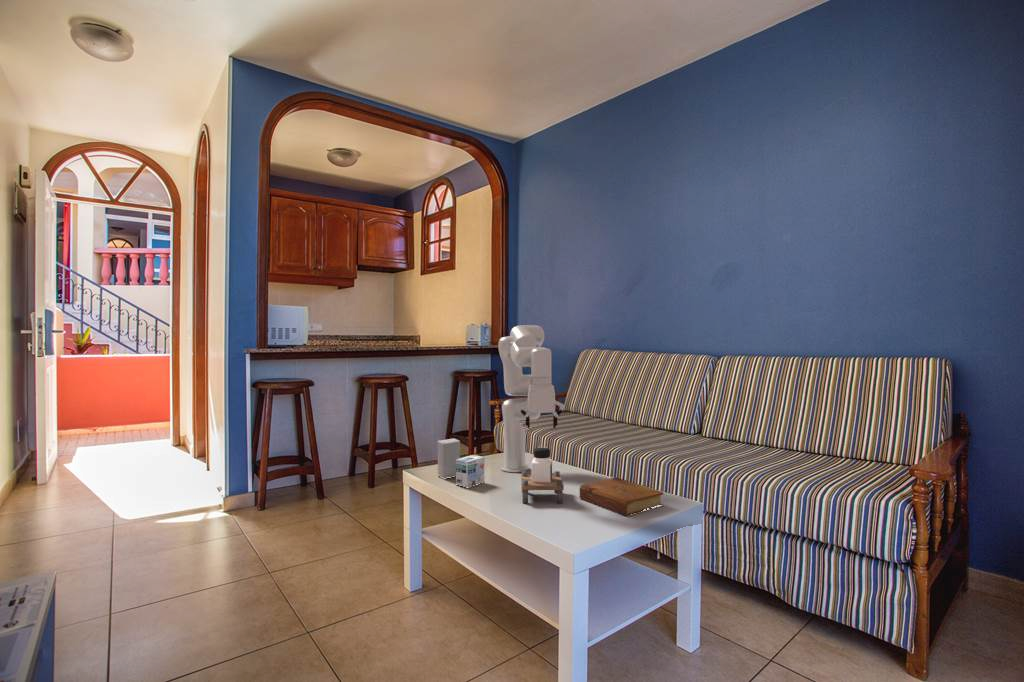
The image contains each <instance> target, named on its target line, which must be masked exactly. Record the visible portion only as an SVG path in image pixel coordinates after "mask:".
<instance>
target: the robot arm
mask: <svg viewBox="0 0 1024 682" xmlns="http://www.w3.org/2000/svg"><path fill="white" fill-rule="evenodd" d="M544 341H545V331H544V328H542V326H540V325H535V324H527V325H524V324H521V325H516V326H514V327H513V328H511V330H510V334H509V335H508V336H503V337H501V338H499V340H498V345H497V346H498V352H499V356H500V359H501V361H502V366H503V385H504V387H503V388H504V392H505V394H506V395H507V396H510V397H511V396H512V397H517V396H518V397H520V396H521V397H523V396H524V397H525V396H527V398H510V399H506V400H504V401H503V403H502V405H501V411H502V412H501V413H502V420H503V464H502V465H501V466H500V470H502V471H503V472H507V473H522V472H523V471H526V472H528V470H529V465H527V464H526V430H525V427H526V428H527V429H530V427H531V426H530V423H531V421H530V420H537V419H539V418H540V417H541V414H545V413H546V414H547V413H549V414H550V413H552V415H553V416H552V427H553V429H556V426H558V418H559V416H560V415H561V414H563V411H564V409H565V407H566V406H565V404H564V403H561V402H560V401H557V400H556V392H555V386H554V385H553V384H552V350H551V349H550V348H546V347H542V345H543V343H544ZM527 367H529V368H530V371H531V373H530V374H523V368H527ZM556 406H558V407H559V409H558V410H557V411H556ZM520 421H525V427H524V426H523V425H522V424H521V422H520Z"/></svg>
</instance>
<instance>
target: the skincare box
mask: <svg viewBox="0 0 1024 682" xmlns="http://www.w3.org/2000/svg"><path fill="white" fill-rule="evenodd" d="M460 458H461V441H460V440H459V439H456V438H449V439H448V438H447V439H443V440H442V439H441V440H437V475H438V474H439V475H440V476H441V477H443V478H446V477H453V476H456V459H460Z"/></svg>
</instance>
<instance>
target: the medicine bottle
mask: <svg viewBox="0 0 1024 682" xmlns="http://www.w3.org/2000/svg"><path fill="white" fill-rule="evenodd" d="M530 466H531V471H530V473H531V475H532V482H542V483H551V480H552V475H553V459H551V449H550V448H548V447H545V446H538V447H535V448H534V449H533V459H532V461H531V465H530Z"/></svg>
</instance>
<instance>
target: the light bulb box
mask: <svg viewBox="0 0 1024 682" xmlns="http://www.w3.org/2000/svg"><path fill="white" fill-rule="evenodd" d="M482 482H484V483H485V456H480V455H475V454H471V455H468V456H464V457H460V459H456V477H455V485H456V484H457V485H460V486H464V487H470V486H473V485H476V484H479V483H482ZM479 485H480V484H479ZM460 486H459V487H460ZM476 486H477V485H476ZM464 487H463V488H464ZM473 487H474V486H473ZM470 488H471V487H470Z"/></svg>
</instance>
